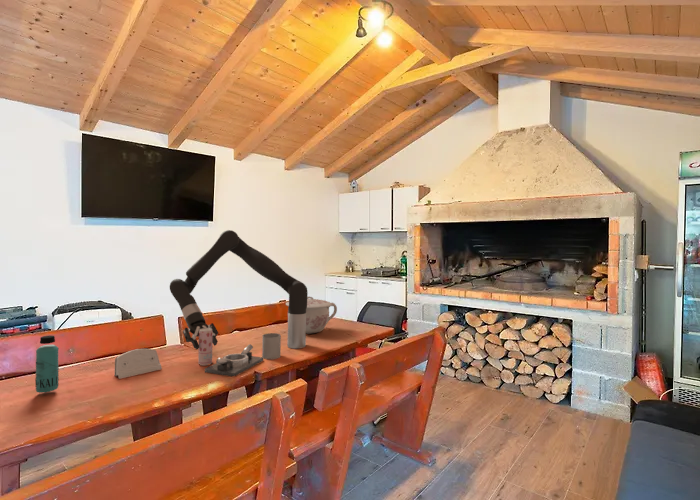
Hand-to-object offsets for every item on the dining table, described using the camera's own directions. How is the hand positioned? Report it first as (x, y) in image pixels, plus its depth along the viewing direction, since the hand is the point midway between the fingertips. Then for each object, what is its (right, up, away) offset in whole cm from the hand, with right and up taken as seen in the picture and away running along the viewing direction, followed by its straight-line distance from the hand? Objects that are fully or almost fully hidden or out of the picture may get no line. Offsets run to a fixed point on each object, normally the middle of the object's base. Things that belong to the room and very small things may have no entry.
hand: (207, 346), depth 171 cm
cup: (+25, -8, +13) cm, 30 cm away
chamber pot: (+37, -7, +64) cm, 74 cm away
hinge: (-24, -8, -11) cm, 28 cm away
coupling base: (+13, -8, -2) cm, 15 cm away
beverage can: (-1, -8, +1) cm, 8 cm away
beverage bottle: (-43, -8, -34) cm, 56 cm away
